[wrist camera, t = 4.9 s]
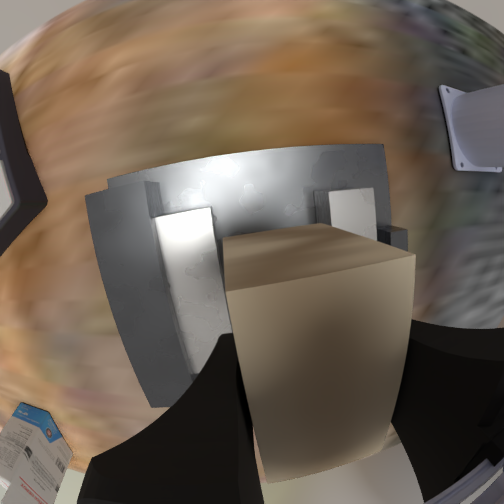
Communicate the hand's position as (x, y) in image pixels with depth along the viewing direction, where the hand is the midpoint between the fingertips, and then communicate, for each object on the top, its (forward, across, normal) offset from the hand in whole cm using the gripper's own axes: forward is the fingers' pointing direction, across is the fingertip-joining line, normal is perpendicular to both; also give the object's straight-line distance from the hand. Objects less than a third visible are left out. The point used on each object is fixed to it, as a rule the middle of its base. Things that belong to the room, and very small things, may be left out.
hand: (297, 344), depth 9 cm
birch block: (+2, 0, 0) cm, 2 cm away
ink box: (+9, +28, +16) cm, 34 cm away
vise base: (+9, -1, +3) cm, 9 cm away
